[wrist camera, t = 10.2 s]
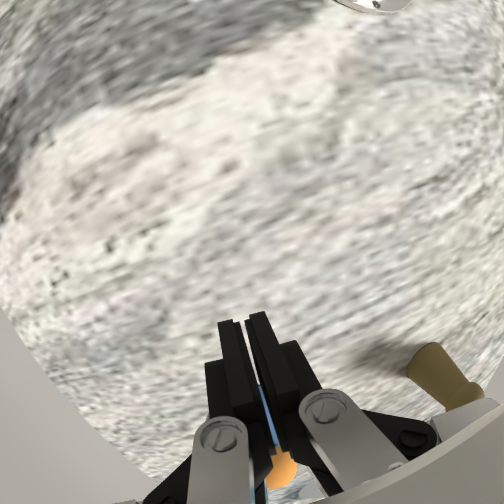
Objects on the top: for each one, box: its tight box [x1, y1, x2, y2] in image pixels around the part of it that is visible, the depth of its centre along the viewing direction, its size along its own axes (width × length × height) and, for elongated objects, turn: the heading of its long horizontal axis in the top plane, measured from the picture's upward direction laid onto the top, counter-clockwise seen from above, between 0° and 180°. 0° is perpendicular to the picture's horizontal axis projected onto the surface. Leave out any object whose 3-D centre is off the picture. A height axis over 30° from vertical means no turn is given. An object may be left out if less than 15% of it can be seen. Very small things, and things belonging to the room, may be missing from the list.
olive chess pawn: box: [407, 342, 484, 412], centre depth 28 cm, size 6×6×11 cm
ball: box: [266, 446, 297, 489], centre depth 30 cm, size 6×6×6 cm
